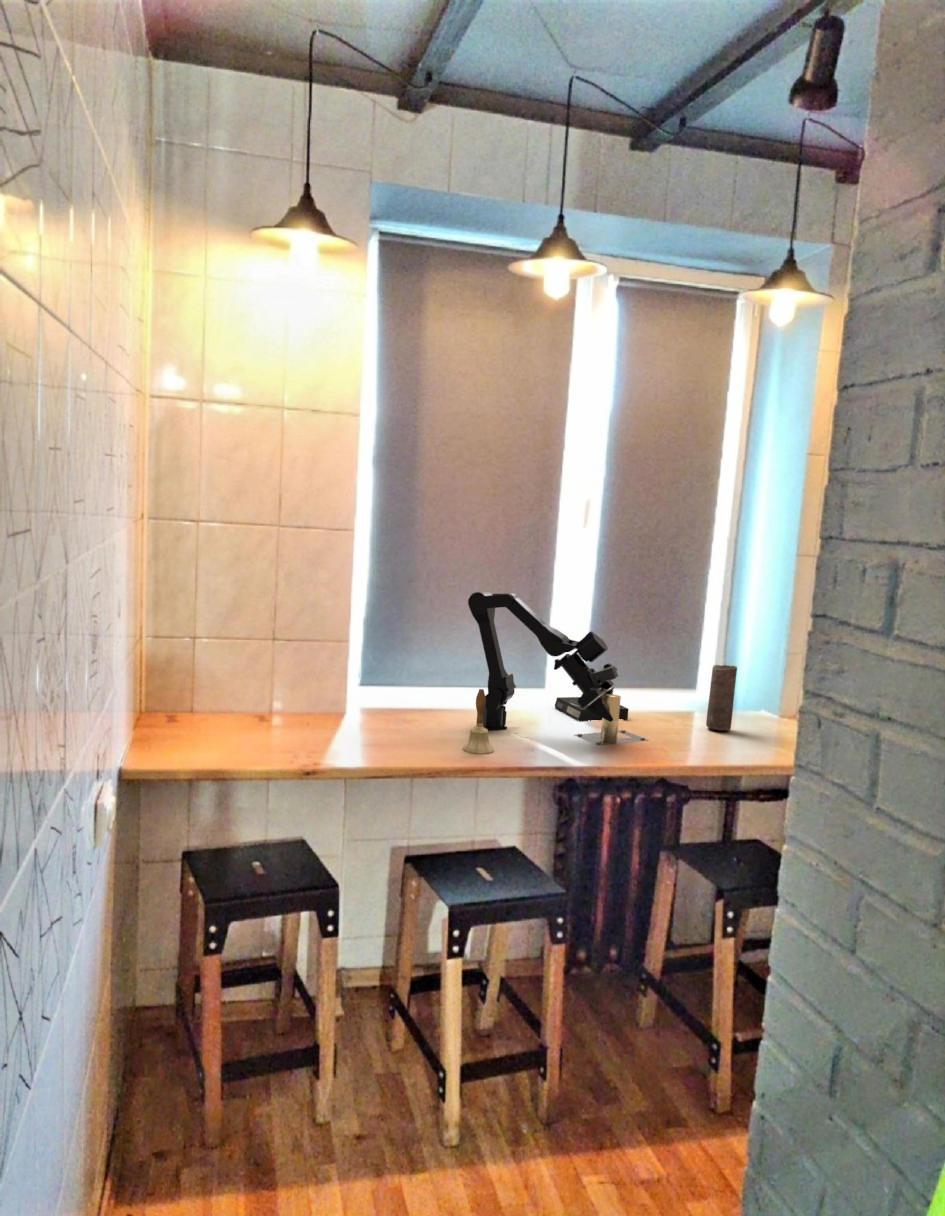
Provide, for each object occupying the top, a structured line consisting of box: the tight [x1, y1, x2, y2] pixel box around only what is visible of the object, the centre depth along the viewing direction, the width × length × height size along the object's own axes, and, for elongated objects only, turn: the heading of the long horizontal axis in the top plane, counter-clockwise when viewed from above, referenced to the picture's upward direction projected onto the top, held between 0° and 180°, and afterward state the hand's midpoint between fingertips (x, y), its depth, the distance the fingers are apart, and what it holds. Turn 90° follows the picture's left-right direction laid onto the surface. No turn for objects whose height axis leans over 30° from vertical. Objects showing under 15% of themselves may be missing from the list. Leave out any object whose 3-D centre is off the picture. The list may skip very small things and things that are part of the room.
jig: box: [573, 729, 650, 746], centre depth 257 cm, size 18×11×2 cm, turn 120°
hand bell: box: [462, 688, 495, 755], centre depth 240 cm, size 8×8×16 cm
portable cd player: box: [554, 696, 629, 722], centre depth 290 cm, size 16×17×4 cm
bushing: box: [600, 694, 622, 743], centre depth 252 cm, size 4×4×12 cm
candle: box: [705, 664, 738, 732], centre depth 279 cm, size 8×7×20 cm
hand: (615, 717), depth 252 cm, fingers open, 8 cm apart
